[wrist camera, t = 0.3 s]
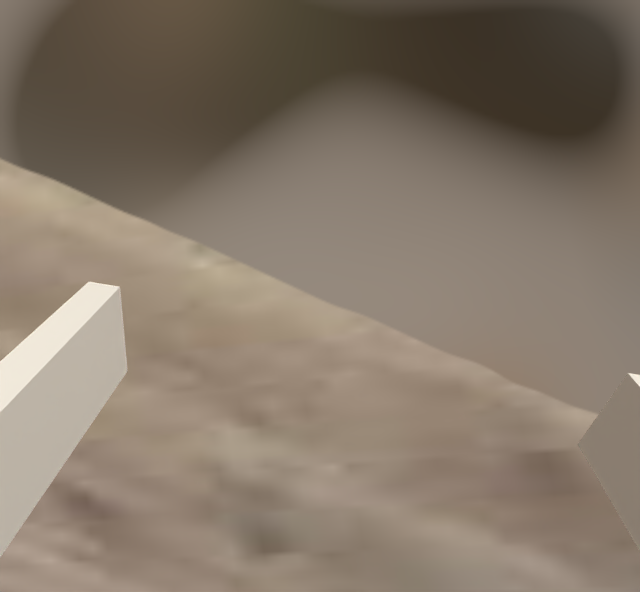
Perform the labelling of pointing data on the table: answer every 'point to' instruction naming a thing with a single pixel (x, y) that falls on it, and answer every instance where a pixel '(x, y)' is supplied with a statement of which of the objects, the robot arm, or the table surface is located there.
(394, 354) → the table surface
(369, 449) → the table surface
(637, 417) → the robot arm
